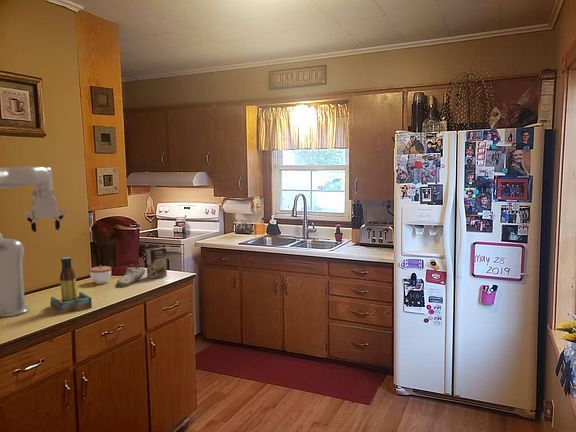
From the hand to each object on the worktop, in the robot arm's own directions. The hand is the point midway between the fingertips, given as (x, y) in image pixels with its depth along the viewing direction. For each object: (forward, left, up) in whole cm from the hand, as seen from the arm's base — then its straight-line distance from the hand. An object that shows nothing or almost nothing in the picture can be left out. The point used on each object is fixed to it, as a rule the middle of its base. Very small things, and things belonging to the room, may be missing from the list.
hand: (46, 230), depth 215 cm
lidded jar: (+29, +14, -33) cm, 46 cm away
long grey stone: (+44, +10, -33) cm, 56 cm away
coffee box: (+57, +6, -32) cm, 66 cm away
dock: (+3, -21, -32) cm, 39 cm away
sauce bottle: (+2, -21, -30) cm, 37 cm away
